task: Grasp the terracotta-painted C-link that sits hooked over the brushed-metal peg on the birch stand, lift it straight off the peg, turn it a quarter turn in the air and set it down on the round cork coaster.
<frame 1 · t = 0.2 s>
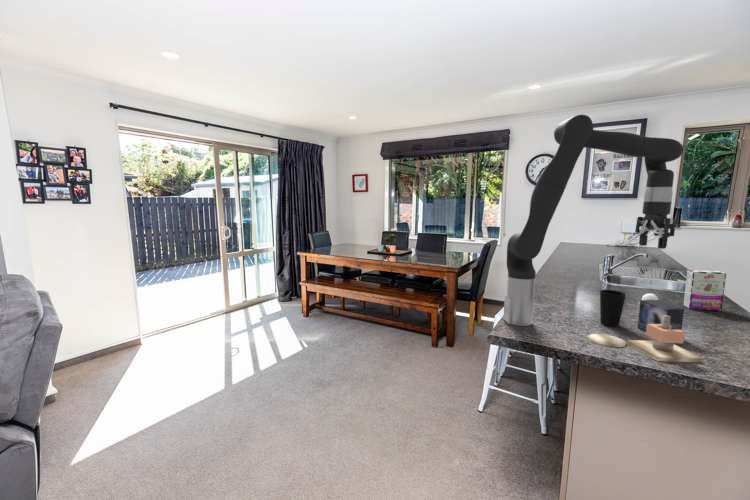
hand: (651, 246, 118), 29 cm above the countertop, fingers open, 8 cm apart
small box: (657, 333, 115), on the countertop
peg stand: (662, 352, 99), on the countertop
c link: (663, 338, 99), point 4 cm above the countertop, touching peg stand
cup: (609, 324, 123), on the countertop
coaster: (606, 340, 108), on the countertop
candy bar box: (701, 309, 142), on the countertop
capsule: (648, 313, 137), on the countertop
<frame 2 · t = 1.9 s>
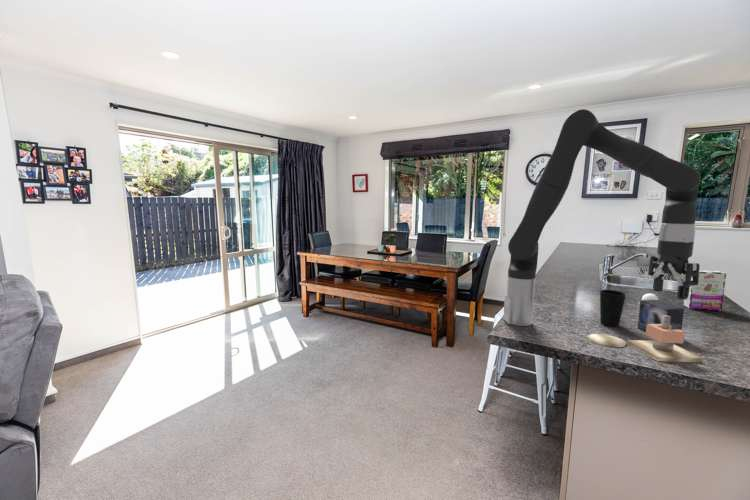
hand: (669, 294, 97), 18 cm above the countertop, fingers open, 8 cm apart
nothing on the countertop moved.
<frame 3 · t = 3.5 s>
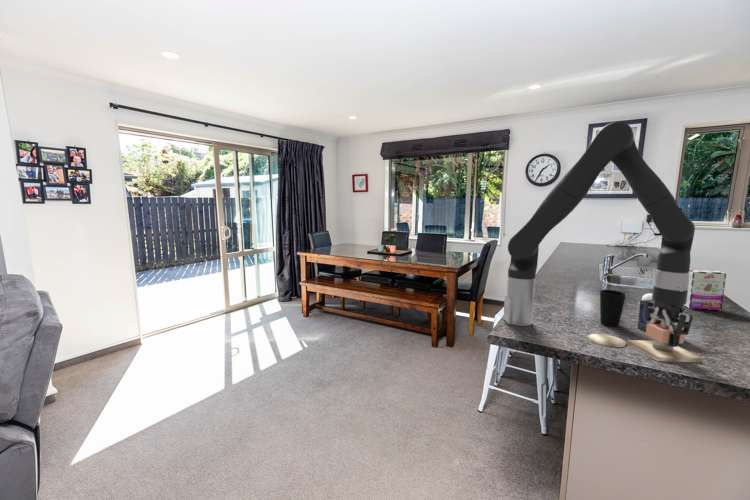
hand: (663, 341, 99), 3 cm above the countertop, fingers closed on c link, 6 cm apart
c link: (663, 338, 99), point 4 cm above the countertop, touching gripper, peg stand
everything else where it was.
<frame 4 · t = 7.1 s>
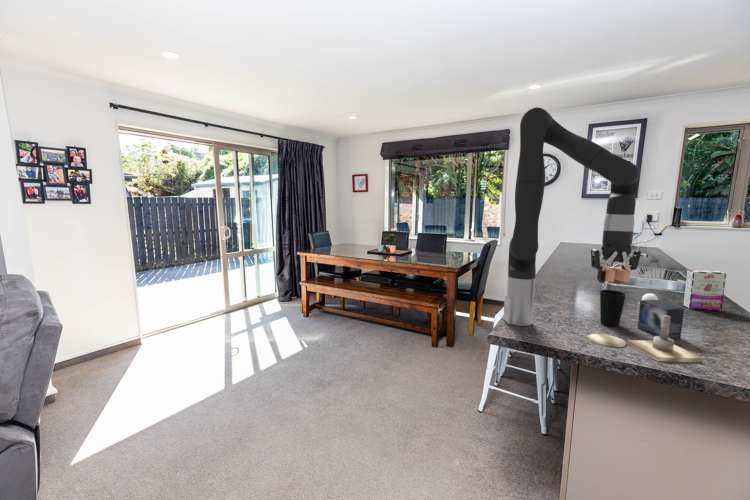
hand: (612, 282, 105), 19 cm above the countertop, fingers closed on c link, 6 cm apart
c link: (612, 279, 105), point 20 cm above the countertop, touching gripper
everything else where it was.
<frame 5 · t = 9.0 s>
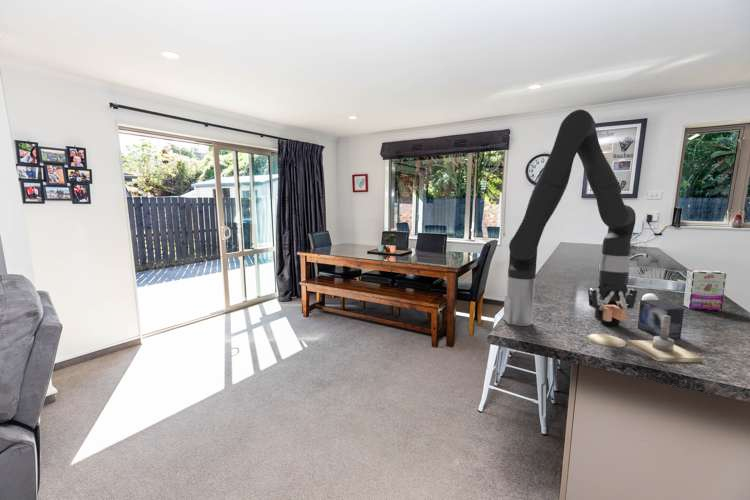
hand: (609, 320, 107), 7 cm above the countertop, fingers closed on c link, 6 cm apart
c link: (610, 318, 107), point 8 cm above the countertop, touching gripper
everything else where it was.
when the fingers open (1 cm above the countertop, at t = 10.5 s): c link drops 2 cm, resting on coaster.
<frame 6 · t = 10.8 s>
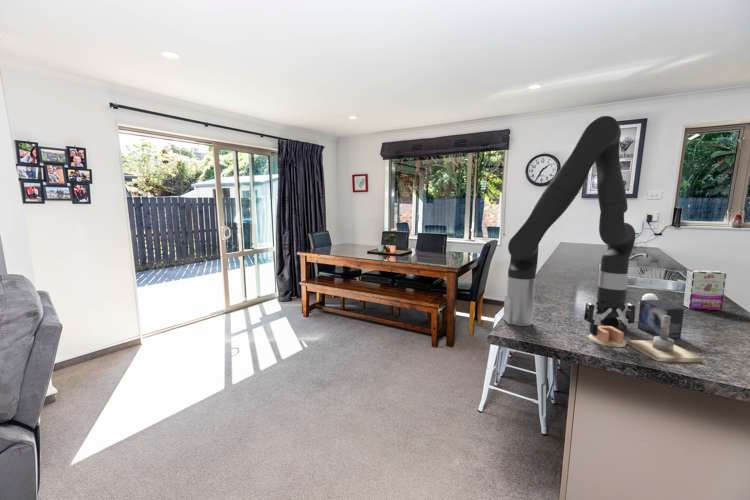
hand: (607, 335, 107), 2 cm above the countertop, fingers open, 8 cm apart
c link: (606, 339, 108), resting on coaster
everything else where it was.
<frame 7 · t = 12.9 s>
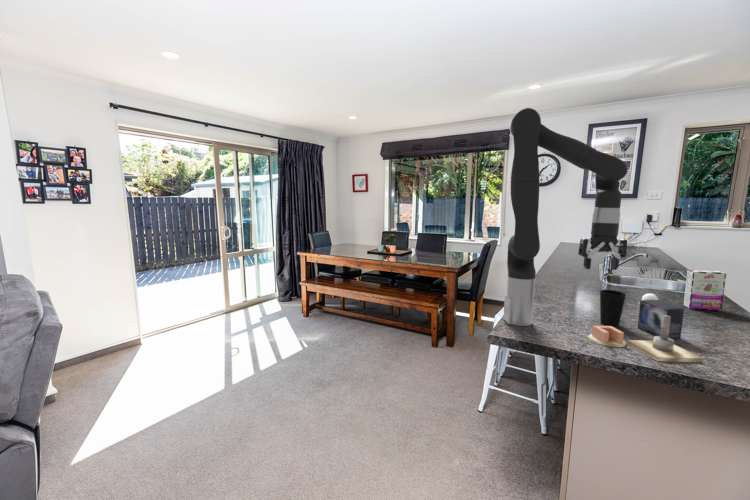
hand: (600, 269, 114), 22 cm above the countertop, fingers open, 8 cm apart
nothing on the countertop moved.
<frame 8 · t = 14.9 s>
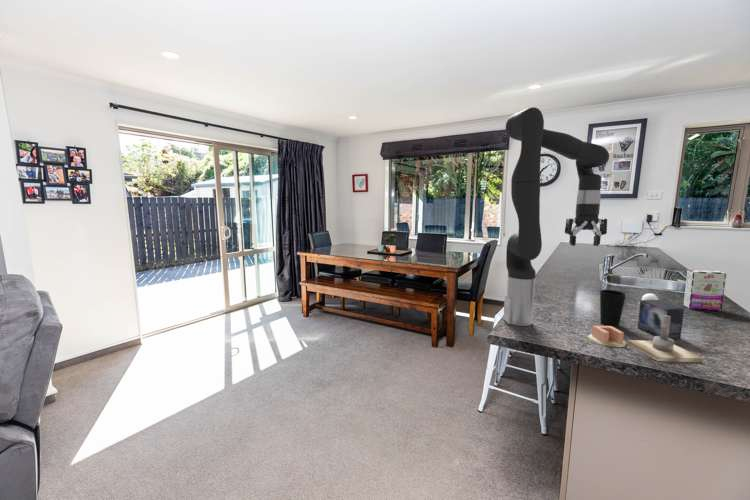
hand: (584, 245, 127), 28 cm above the countertop, fingers open, 8 cm apart
nothing on the countertop moved.
at the end: c link 0.0 cm from the coaster (horizontally); c link resting on coaster; the gripper is holding nothing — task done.
